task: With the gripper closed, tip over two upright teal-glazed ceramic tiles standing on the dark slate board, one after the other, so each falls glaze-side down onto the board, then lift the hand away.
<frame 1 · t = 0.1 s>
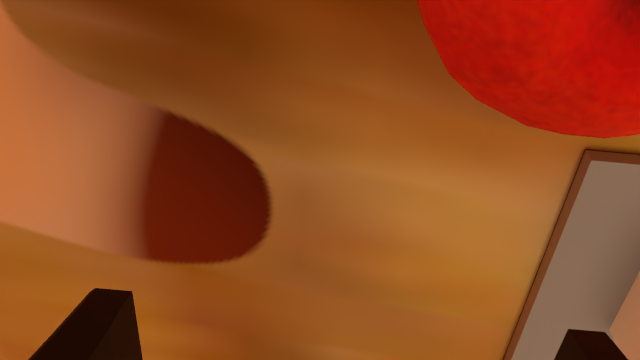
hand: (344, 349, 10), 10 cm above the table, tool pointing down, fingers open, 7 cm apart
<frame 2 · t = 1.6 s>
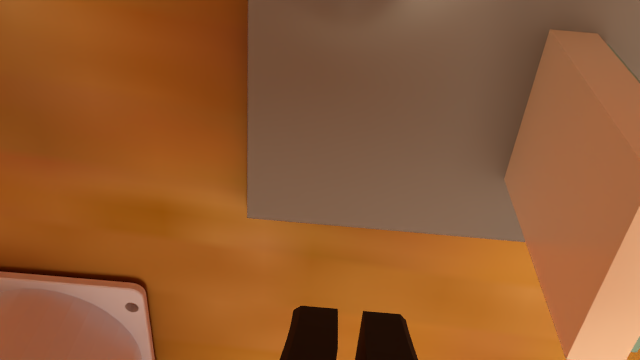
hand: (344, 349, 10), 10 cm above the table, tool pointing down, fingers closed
tile a: (552, 112, 18), point 1 cm above the table, touching slate board
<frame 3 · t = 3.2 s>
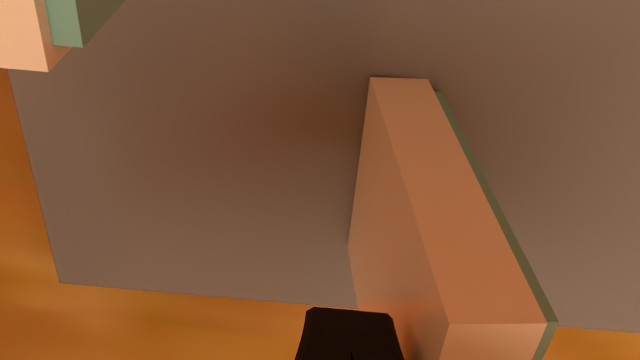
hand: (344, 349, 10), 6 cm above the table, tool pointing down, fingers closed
tile a: (389, 171, 15), point 1 cm above the table, tilted 7°, touching gripper, slate board
slate board: (414, 1, 13), on the table
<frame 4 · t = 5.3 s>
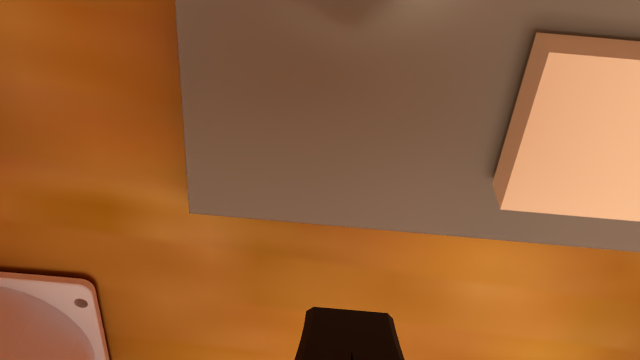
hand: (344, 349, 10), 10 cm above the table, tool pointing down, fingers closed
tile a: (516, 123, 17), point 1 cm above the table, tilted 90°, touching slate board
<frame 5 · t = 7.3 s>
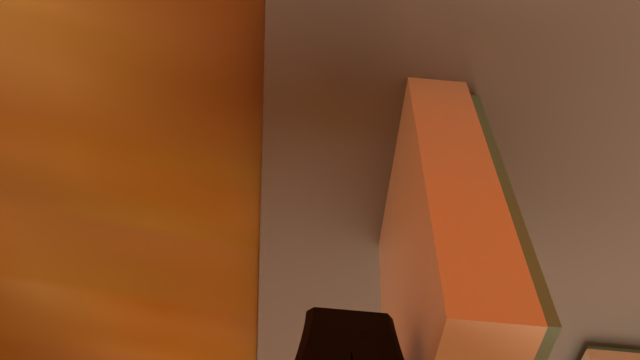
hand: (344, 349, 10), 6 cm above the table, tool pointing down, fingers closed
slate board: (568, 288, 18), on the table
tile b: (424, 172, 15), point 1 cm above the table, touching gripper, slate board
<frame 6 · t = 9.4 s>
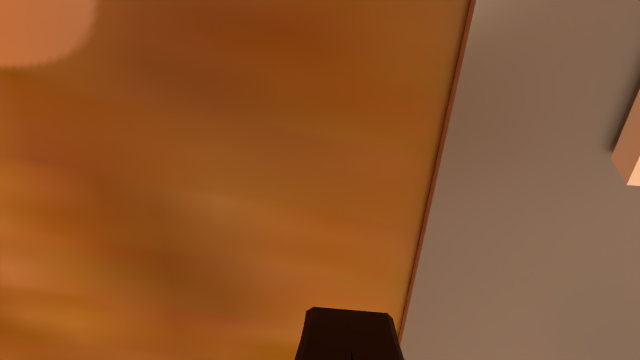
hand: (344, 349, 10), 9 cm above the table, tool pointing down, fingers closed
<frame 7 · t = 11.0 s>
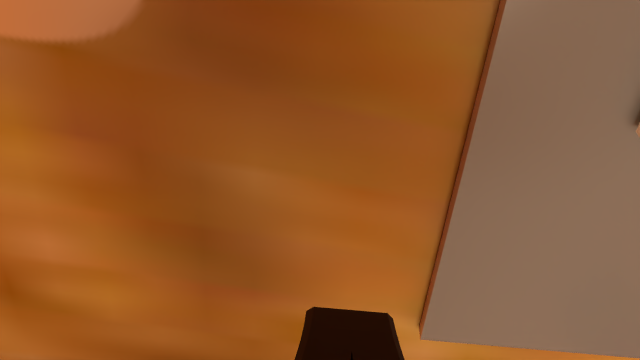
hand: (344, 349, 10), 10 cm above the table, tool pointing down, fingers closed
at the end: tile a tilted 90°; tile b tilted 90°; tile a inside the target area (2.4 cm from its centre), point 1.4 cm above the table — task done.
